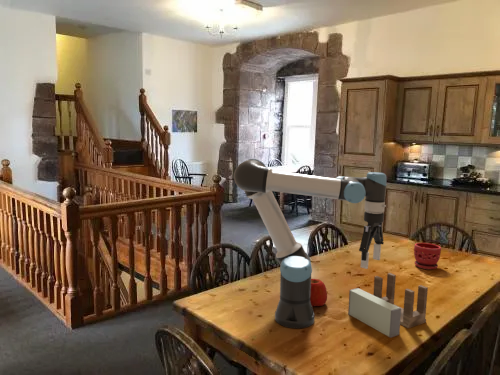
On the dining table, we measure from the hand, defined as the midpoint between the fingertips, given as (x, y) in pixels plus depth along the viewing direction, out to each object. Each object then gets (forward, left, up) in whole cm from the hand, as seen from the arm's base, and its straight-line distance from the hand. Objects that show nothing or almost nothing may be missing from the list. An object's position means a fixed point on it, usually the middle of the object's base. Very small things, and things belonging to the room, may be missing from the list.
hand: (370, 263), depth 163 cm
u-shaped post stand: (+6, -10, -20) cm, 23 cm away
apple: (-16, +15, -20) cm, 29 cm away
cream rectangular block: (-8, -10, -20) cm, 23 cm away
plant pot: (+67, +23, -20) cm, 74 cm away
